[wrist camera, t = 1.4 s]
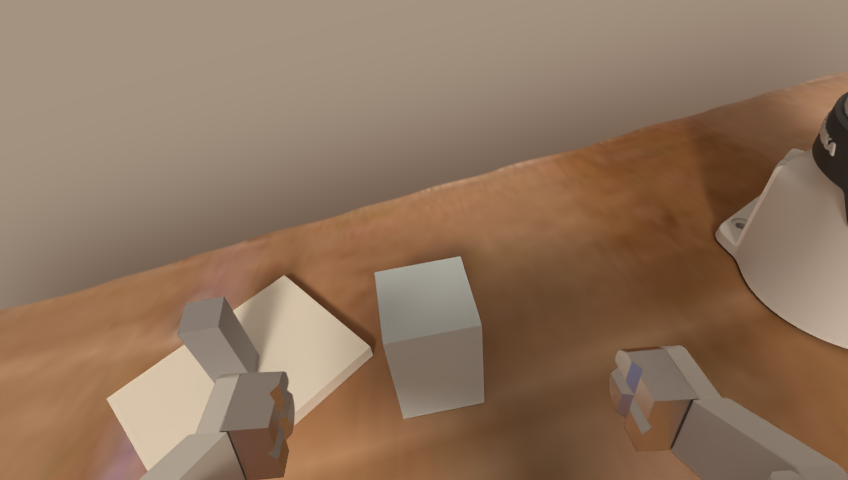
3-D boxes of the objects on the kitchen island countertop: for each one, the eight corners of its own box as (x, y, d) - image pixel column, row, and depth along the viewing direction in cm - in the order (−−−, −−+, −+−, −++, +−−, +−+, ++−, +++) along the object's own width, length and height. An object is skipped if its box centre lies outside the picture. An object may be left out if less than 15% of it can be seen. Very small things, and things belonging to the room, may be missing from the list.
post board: (288, 283, 44) (258, 216, 38) (373, 355, 37) (351, 286, 32) (115, 406, 36) (46, 344, 31) (183, 524, 30) (111, 472, 24)
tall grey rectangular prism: (466, 336, 38) (460, 256, 32) (484, 402, 33) (481, 325, 27) (394, 350, 37) (374, 272, 31) (403, 419, 33) (382, 344, 27)
